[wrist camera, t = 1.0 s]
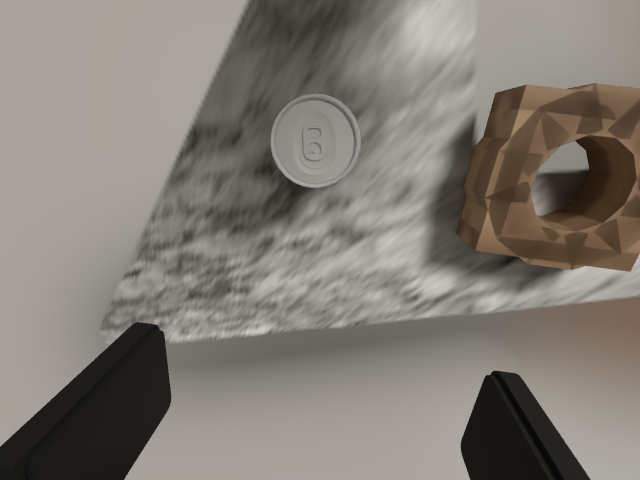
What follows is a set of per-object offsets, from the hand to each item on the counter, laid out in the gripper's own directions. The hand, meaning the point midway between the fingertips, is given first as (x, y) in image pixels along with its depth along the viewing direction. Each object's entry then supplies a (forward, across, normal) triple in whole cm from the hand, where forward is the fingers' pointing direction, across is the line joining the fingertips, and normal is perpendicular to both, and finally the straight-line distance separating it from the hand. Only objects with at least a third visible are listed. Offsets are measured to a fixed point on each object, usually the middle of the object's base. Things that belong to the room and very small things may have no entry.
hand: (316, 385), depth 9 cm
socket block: (+21, -17, -4) cm, 28 cm away
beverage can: (+22, +2, -6) cm, 22 cm away
